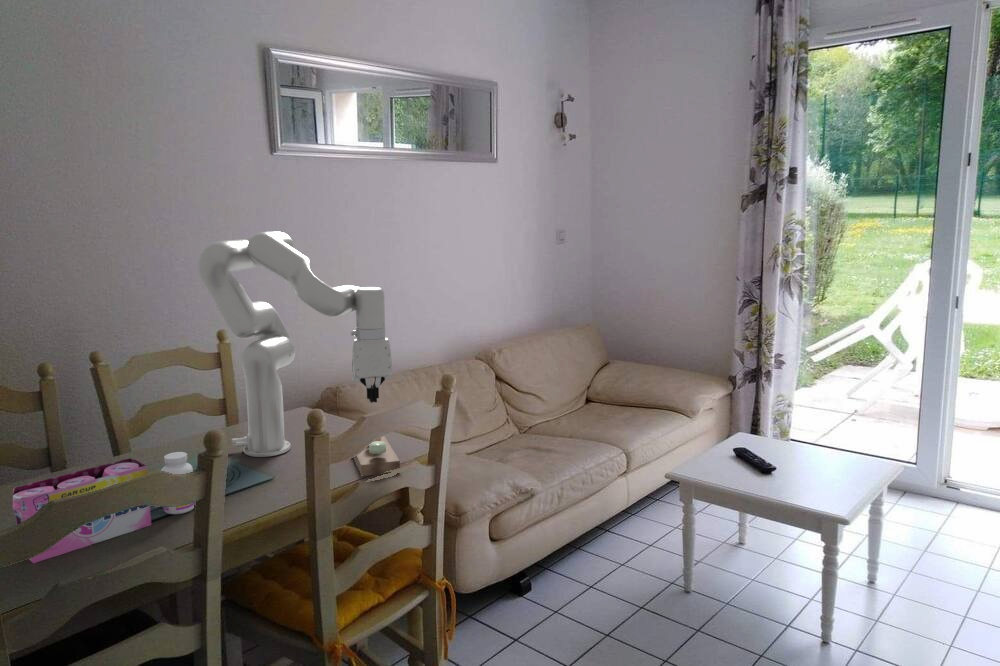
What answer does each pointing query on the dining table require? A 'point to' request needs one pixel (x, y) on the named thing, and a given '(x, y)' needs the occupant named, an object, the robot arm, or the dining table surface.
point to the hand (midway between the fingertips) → (373, 401)
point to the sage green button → (377, 447)
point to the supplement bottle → (177, 466)
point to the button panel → (377, 461)
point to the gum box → (78, 483)
